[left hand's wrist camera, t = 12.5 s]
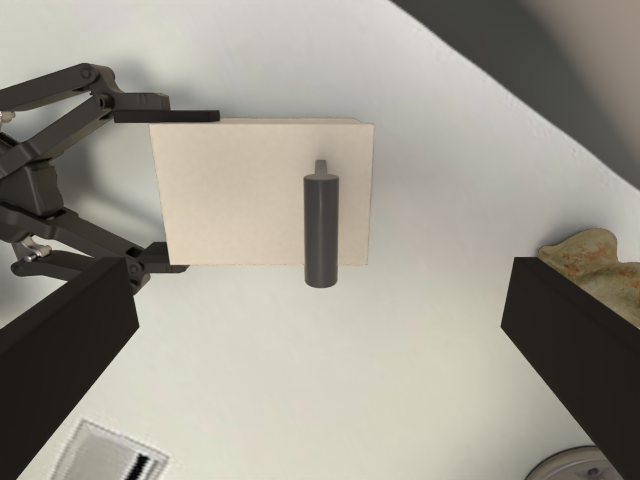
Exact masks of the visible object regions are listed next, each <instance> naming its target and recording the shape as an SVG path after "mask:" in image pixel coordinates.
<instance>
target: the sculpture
mask: <svg viewBox="0 0 640 480" xmlns="http://www.w3.org/2000/svg"><path fill="white" fill-rule="evenodd" d="M539 258H540V259H541V260H542V261H543V262H545V263H546V264H548V265H549V266H551V267H552V268H553V269H555V270H556V271H558V272H559V273H560V274H562V275H563V276H565V277H566V278H568V279H569V280H570V281H572V282H573V283H575V284H576V285H577V286H579V287H580V288H582V289H583V290H585V291H586V292H587V293H589V294H590V295H592V296H593V297H594V298H596V299H597V300H599V301H600V302H601V303H603V304H604V305H606V306H607V307H609V308H610V309H611V310H613V311H614V312H616V313H617V314H618V315H620V316H621V317H623V318H624V319H626V320H627V321H628V322H630V323H631V324H633V325H634V326H635V327H638V328H640V262H628V263H620V262H618V258H617V239H616V237H615V235H614V234H613V233H611V232H610V231H609V230H606V229H589V230H586V231H583V232H580V233H578V234H576V235H574V236H572V237H570V238H568V239H566V240H565V241H563V242H562V243H560V244H558V245H556V246H544V247H542V248H541V249H540V250H539Z"/></svg>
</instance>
